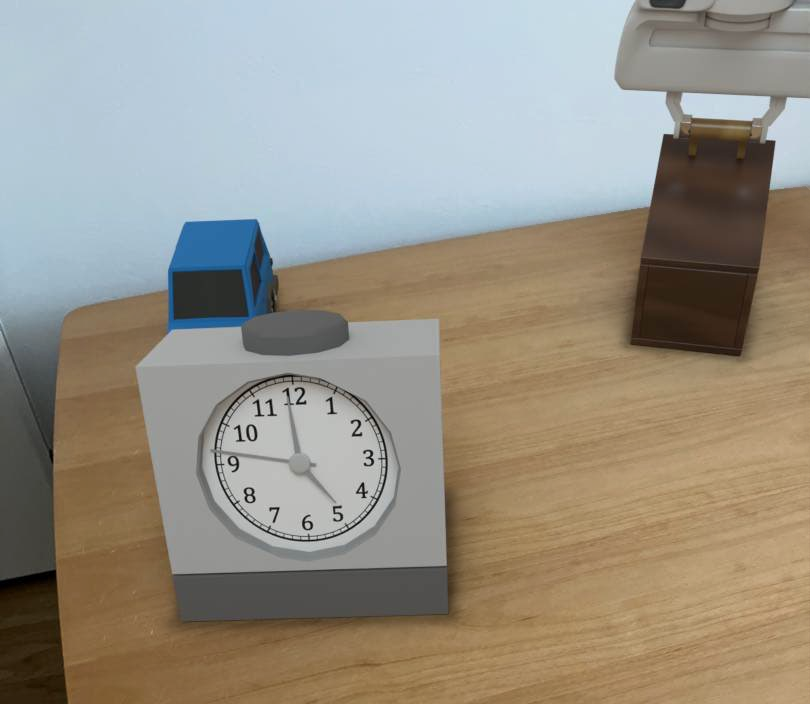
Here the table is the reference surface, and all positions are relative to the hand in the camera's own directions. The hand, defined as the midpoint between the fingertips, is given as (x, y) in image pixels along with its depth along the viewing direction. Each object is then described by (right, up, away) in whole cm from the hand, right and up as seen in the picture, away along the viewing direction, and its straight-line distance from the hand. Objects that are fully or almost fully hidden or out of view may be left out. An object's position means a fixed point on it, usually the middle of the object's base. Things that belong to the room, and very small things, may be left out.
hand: (718, 139), depth 95 cm
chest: (0, -14, +9) cm, 17 cm away
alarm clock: (-36, -38, -12) cm, 54 cm away
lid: (-1, -6, +1) cm, 6 cm away
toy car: (-48, -18, +9) cm, 52 cm away
